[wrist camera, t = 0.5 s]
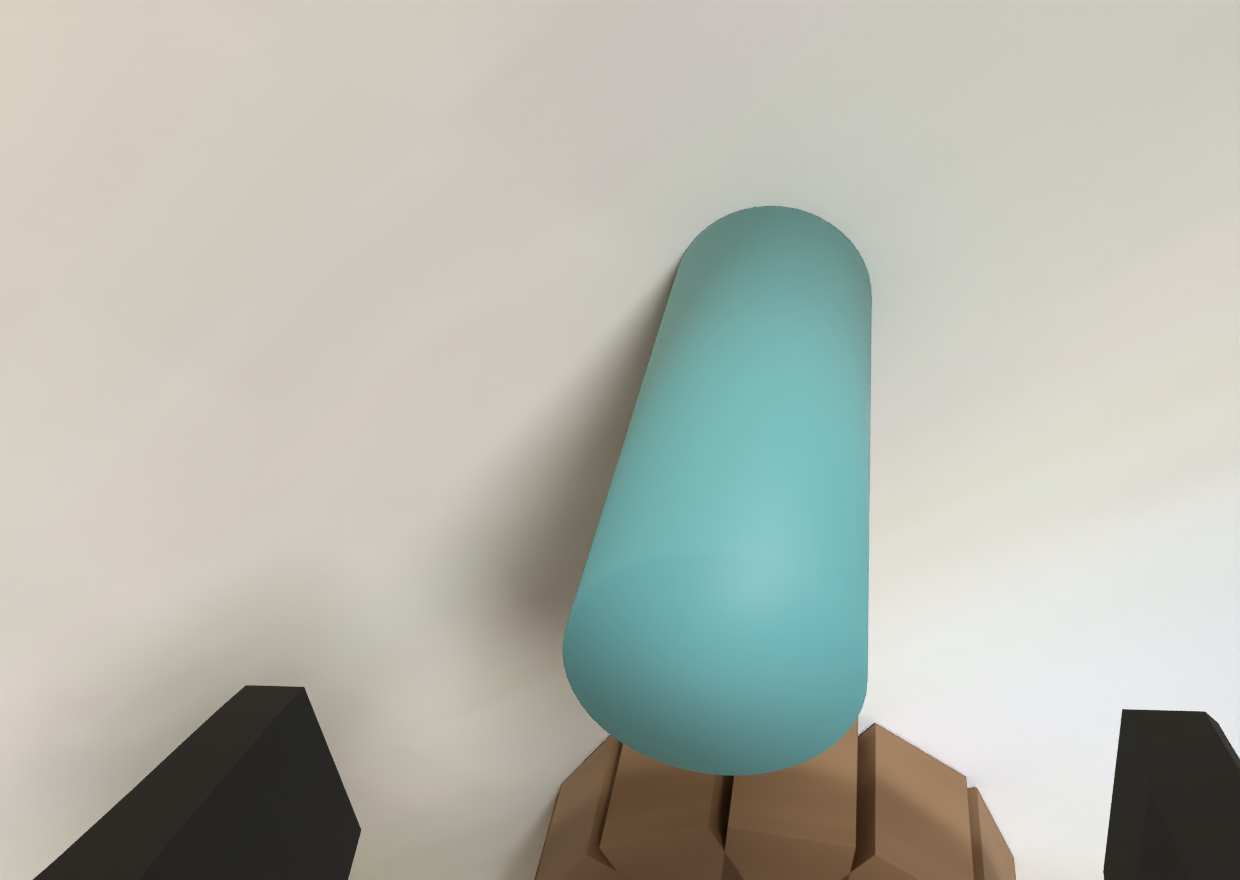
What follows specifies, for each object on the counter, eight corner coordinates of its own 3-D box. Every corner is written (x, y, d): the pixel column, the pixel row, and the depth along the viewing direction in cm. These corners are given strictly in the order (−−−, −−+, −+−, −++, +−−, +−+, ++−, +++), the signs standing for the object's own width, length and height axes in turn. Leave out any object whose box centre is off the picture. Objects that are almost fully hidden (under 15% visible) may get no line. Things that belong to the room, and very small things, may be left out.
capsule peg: (913, 279, 18) (933, 662, 11) (792, 414, 19) (749, 815, 13) (747, 167, 17) (665, 499, 11) (638, 315, 19) (510, 680, 12)
